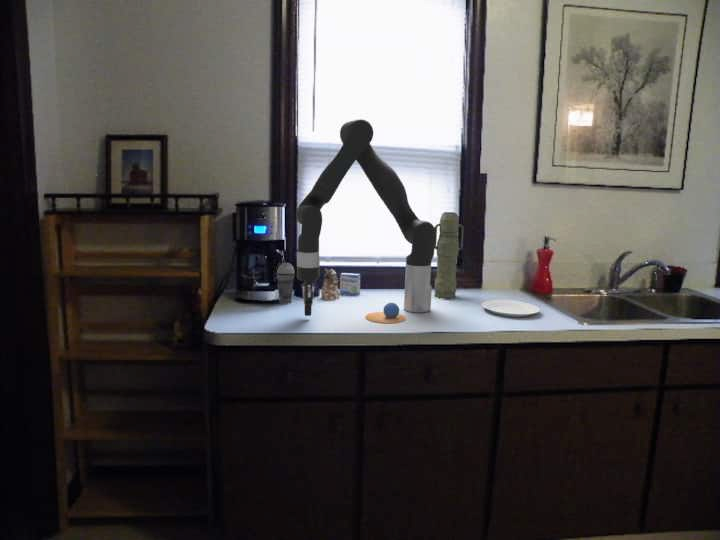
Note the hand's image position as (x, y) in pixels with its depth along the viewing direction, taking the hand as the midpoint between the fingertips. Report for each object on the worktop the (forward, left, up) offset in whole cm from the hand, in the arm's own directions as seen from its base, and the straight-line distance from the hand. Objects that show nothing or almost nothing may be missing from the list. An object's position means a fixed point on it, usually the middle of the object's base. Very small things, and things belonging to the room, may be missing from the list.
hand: (307, 315), depth 171 cm
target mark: (-27, 0, -2) cm, 27 cm away
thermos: (-59, -30, -2) cm, 66 cm away
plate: (-76, -5, -2) cm, 76 cm away
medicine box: (-20, -37, -2) cm, 42 cm away
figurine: (-11, -30, -2) cm, 32 cm away
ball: (-29, +1, +1) cm, 29 cm away
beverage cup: (+7, -24, -2) cm, 25 cm away
